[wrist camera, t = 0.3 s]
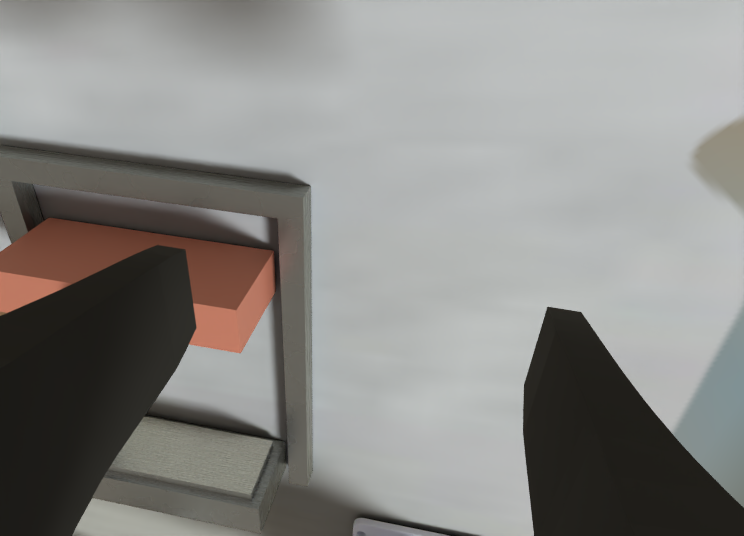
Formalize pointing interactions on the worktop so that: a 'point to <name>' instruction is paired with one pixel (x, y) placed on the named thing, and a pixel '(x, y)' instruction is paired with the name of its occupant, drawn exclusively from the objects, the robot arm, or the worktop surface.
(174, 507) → the vise body
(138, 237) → the free jaw
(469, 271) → the worktop surface
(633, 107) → the worktop surface
